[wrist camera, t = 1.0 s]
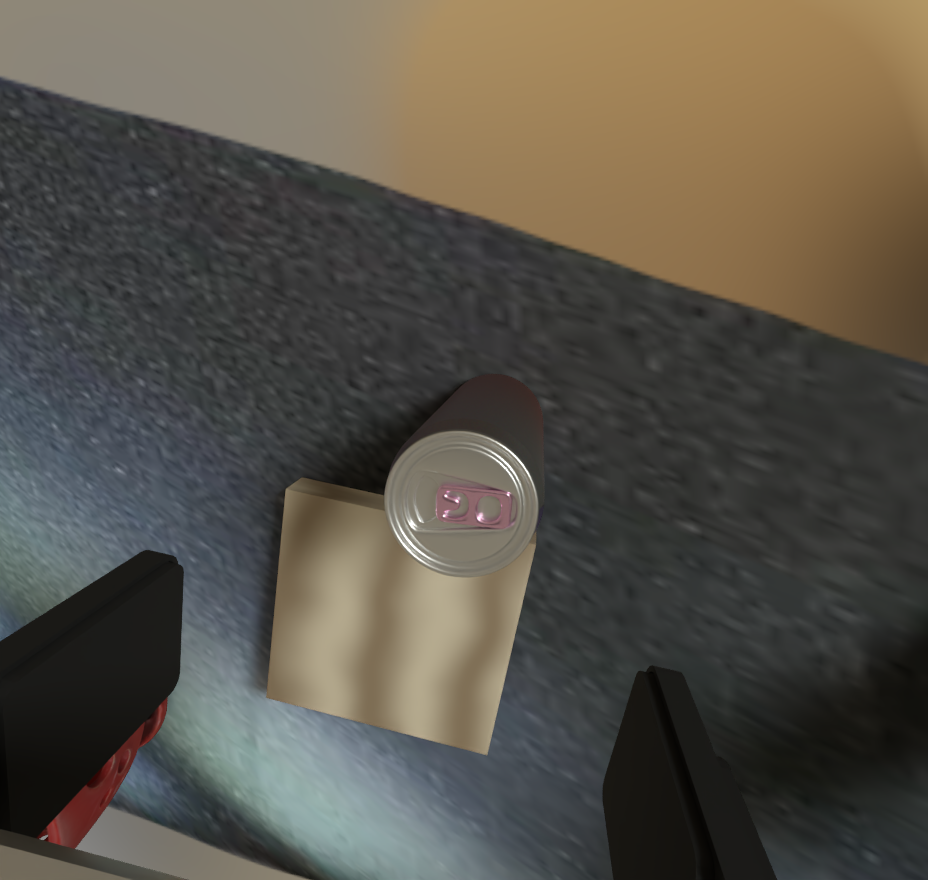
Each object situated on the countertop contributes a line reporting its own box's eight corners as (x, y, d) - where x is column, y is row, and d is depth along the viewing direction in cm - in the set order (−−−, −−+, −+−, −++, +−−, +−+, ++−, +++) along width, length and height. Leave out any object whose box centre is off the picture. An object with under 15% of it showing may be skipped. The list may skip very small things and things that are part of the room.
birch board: (536, 528, 35) (535, 544, 33) (490, 728, 39) (487, 755, 37) (302, 477, 36) (285, 489, 34) (282, 675, 40) (266, 697, 38)
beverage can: (537, 470, 34) (535, 593, 20) (444, 460, 35) (375, 572, 20) (547, 376, 32) (553, 434, 18) (450, 368, 33) (380, 417, 19)
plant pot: (7, 639, 43) (-186, 759, 32) (127, 582, 40) (-37, 692, 29) (97, 766, 45) (-54, 922, 34) (218, 721, 42) (98, 876, 31)
